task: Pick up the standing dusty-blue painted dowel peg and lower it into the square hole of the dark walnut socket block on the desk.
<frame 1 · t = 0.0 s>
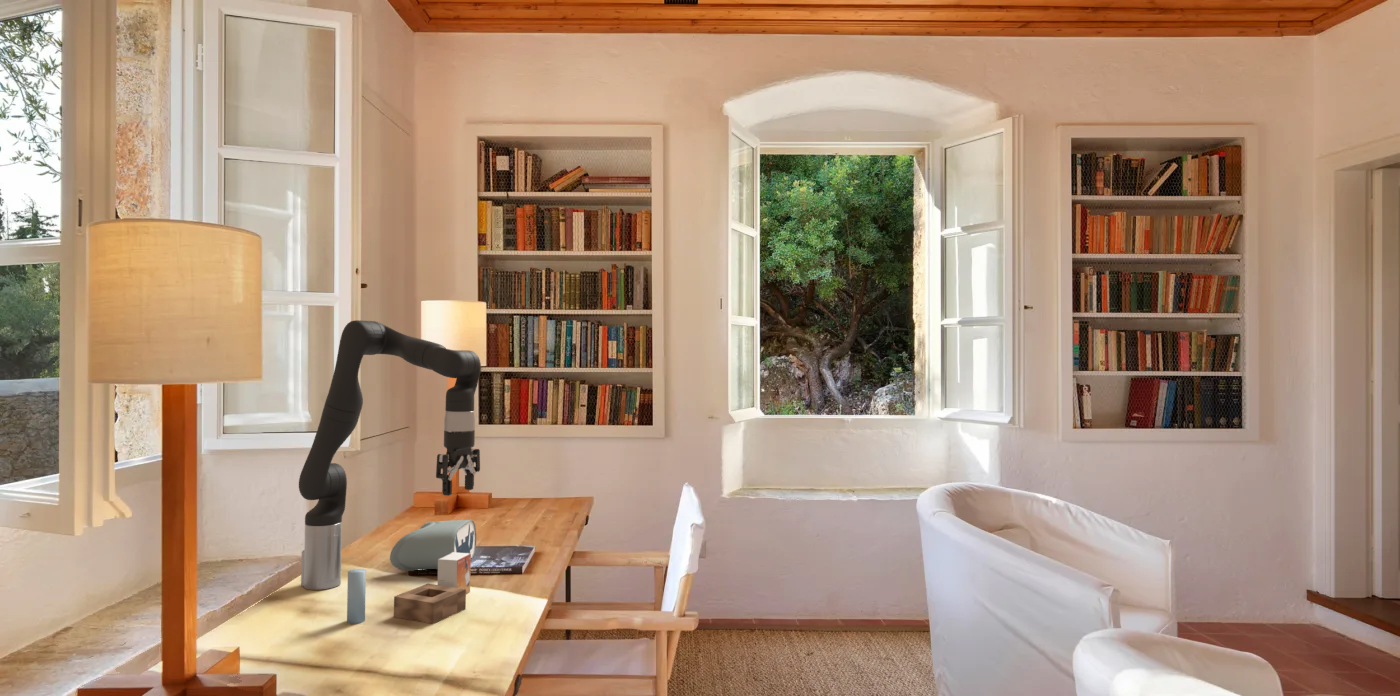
hand: (458, 492, 203), 29 cm above the table, fingers open, 8 cm apart
peg: (355, 621, 192), on the table
pencil case: (434, 566, 242), on the table
socket block: (430, 612, 199), on the table
small box: (453, 596, 213), on the table
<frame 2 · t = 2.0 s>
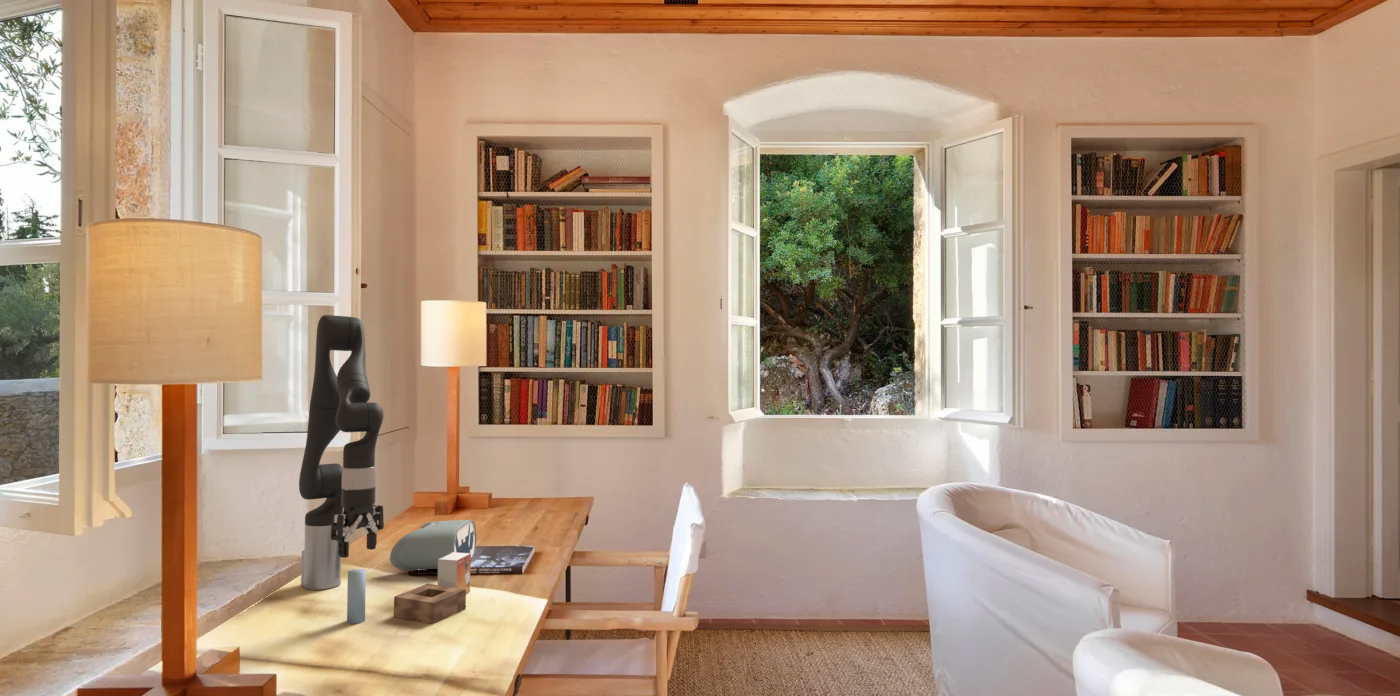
hand: (357, 553, 192), 16 cm above the table, fingers open, 8 cm apart
nothing on the table moved.
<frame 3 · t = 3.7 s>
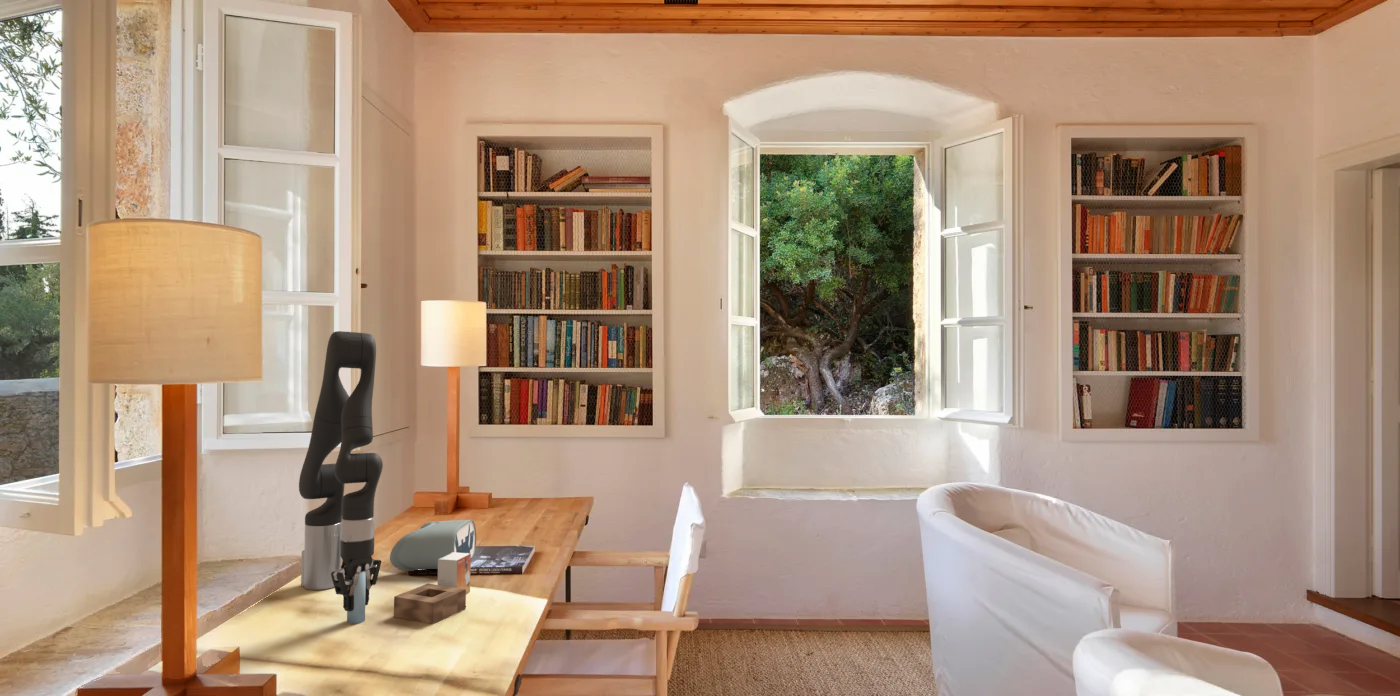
hand: (356, 607, 192), 3 cm above the table, fingers closed on peg, 4 cm apart
peg: (355, 621, 192), on the table, touching gripper
everything else where it was.
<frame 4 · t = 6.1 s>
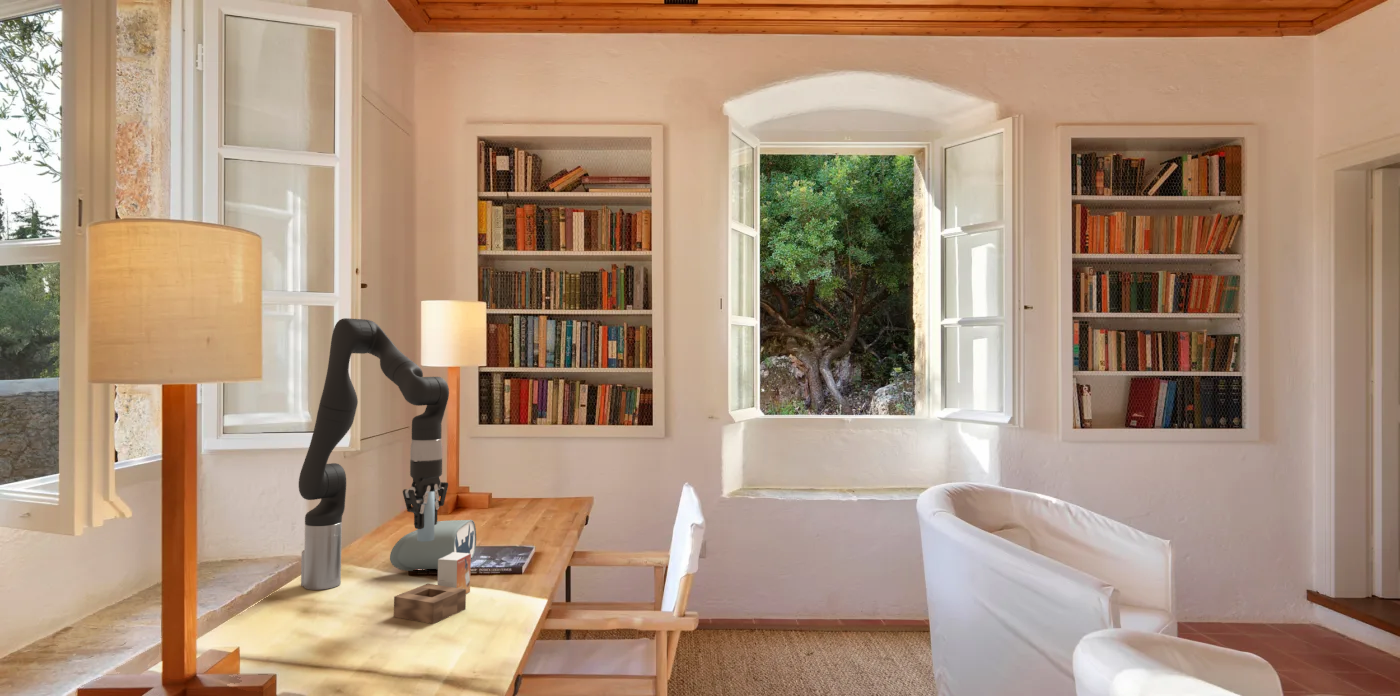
hand: (425, 526, 198), 22 cm above the table, fingers closed on peg, 4 cm apart
peg: (425, 539, 198), point 18 cm above the table, touching gripper
everything else where it was.
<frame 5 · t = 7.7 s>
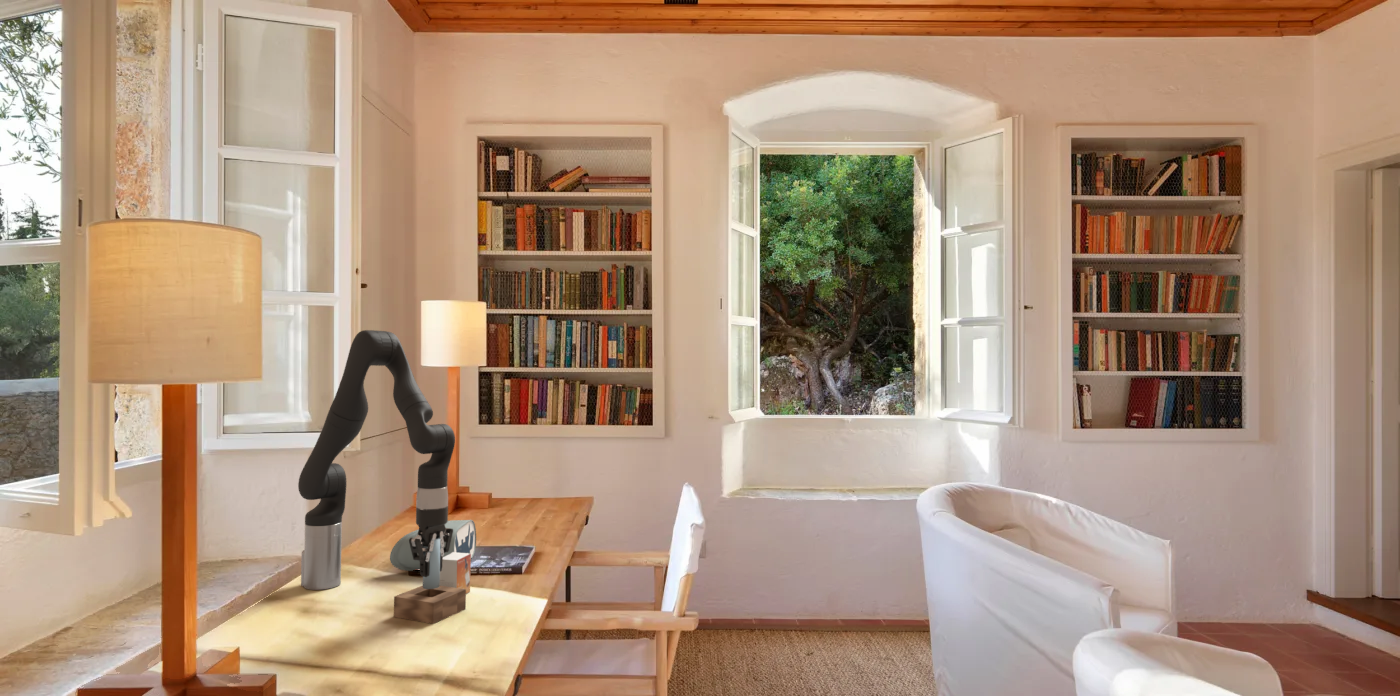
hand: (431, 573, 199), 10 cm above the table, fingers closed on peg, 4 cm apart
peg: (431, 586, 199), point 7 cm above the table, touching gripper
everything else where it was.
when the fingers open (6 cm above the table, at t = 8.7 s): peg drops 3 cm, resting in socket block.
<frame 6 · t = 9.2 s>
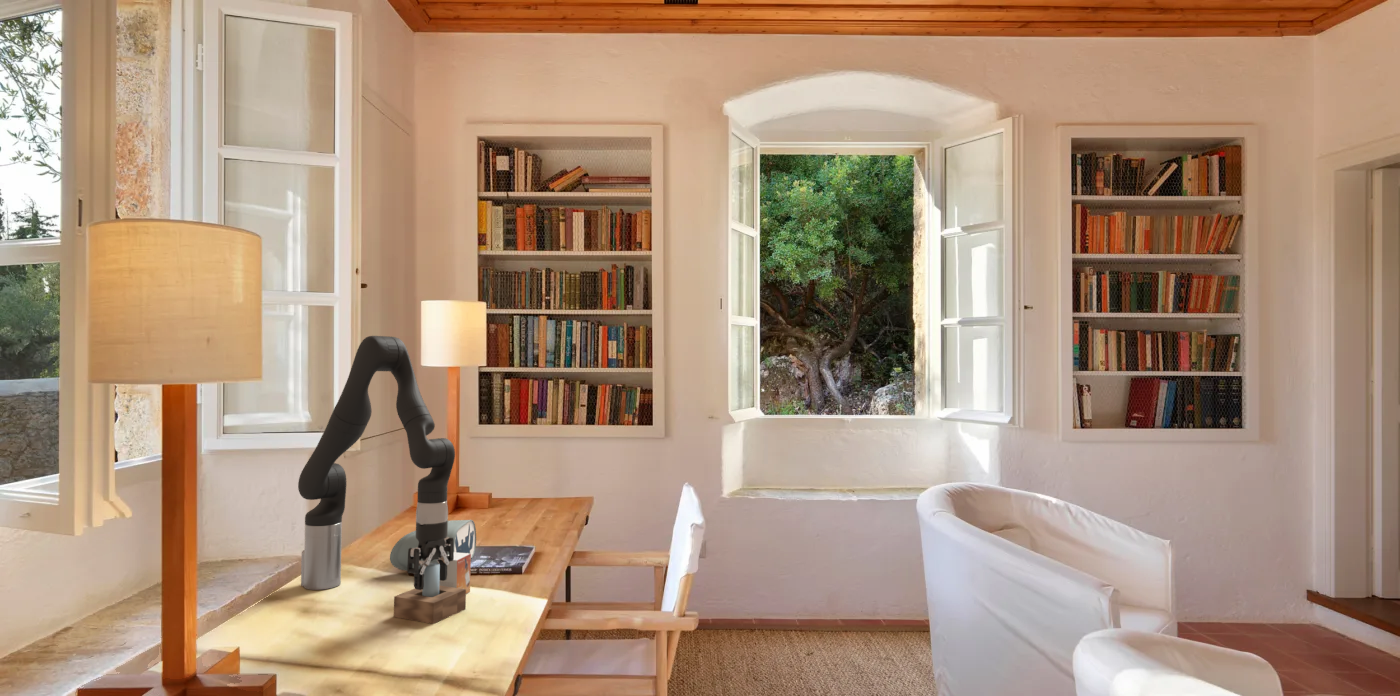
hand: (430, 584, 199), 7 cm above the table, fingers open, 8 cm apart
peg: (430, 612, 199), resting in socket block
everything else where it was.
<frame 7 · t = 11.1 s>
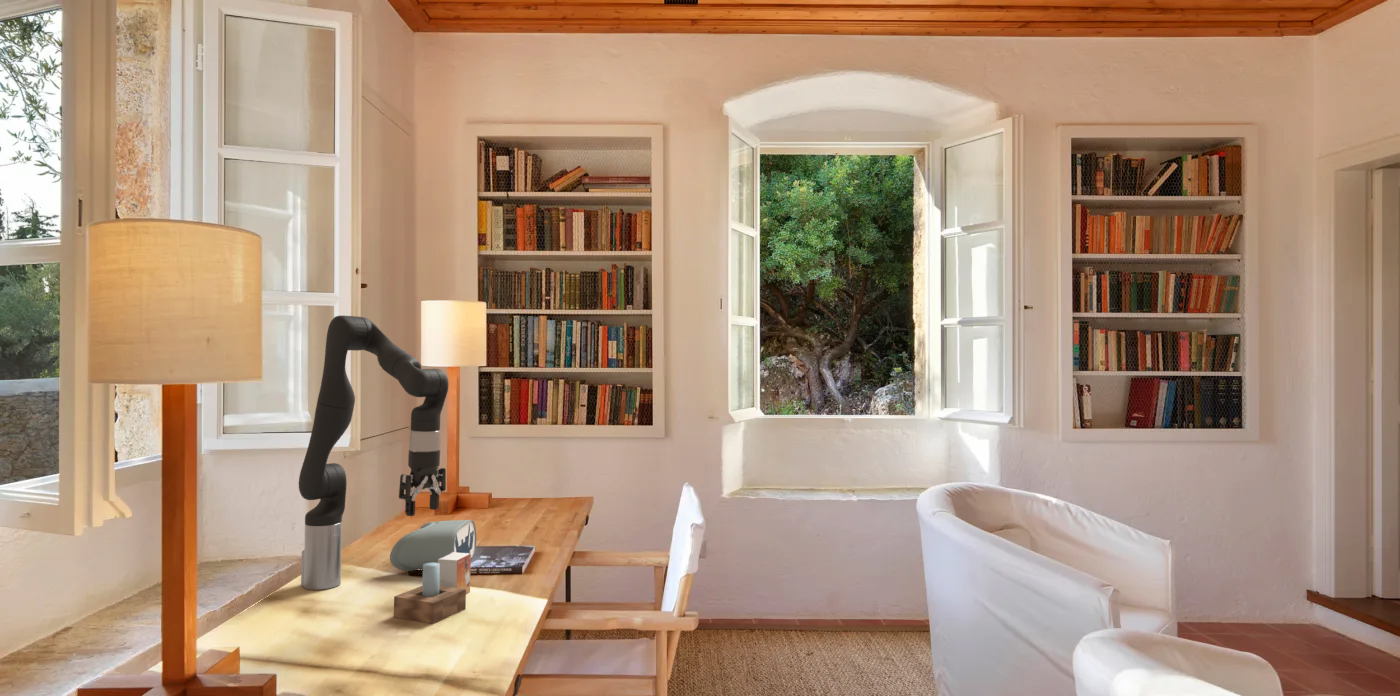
hand: (422, 512, 201), 24 cm above the table, fingers open, 8 cm apart
nothing on the table moved.
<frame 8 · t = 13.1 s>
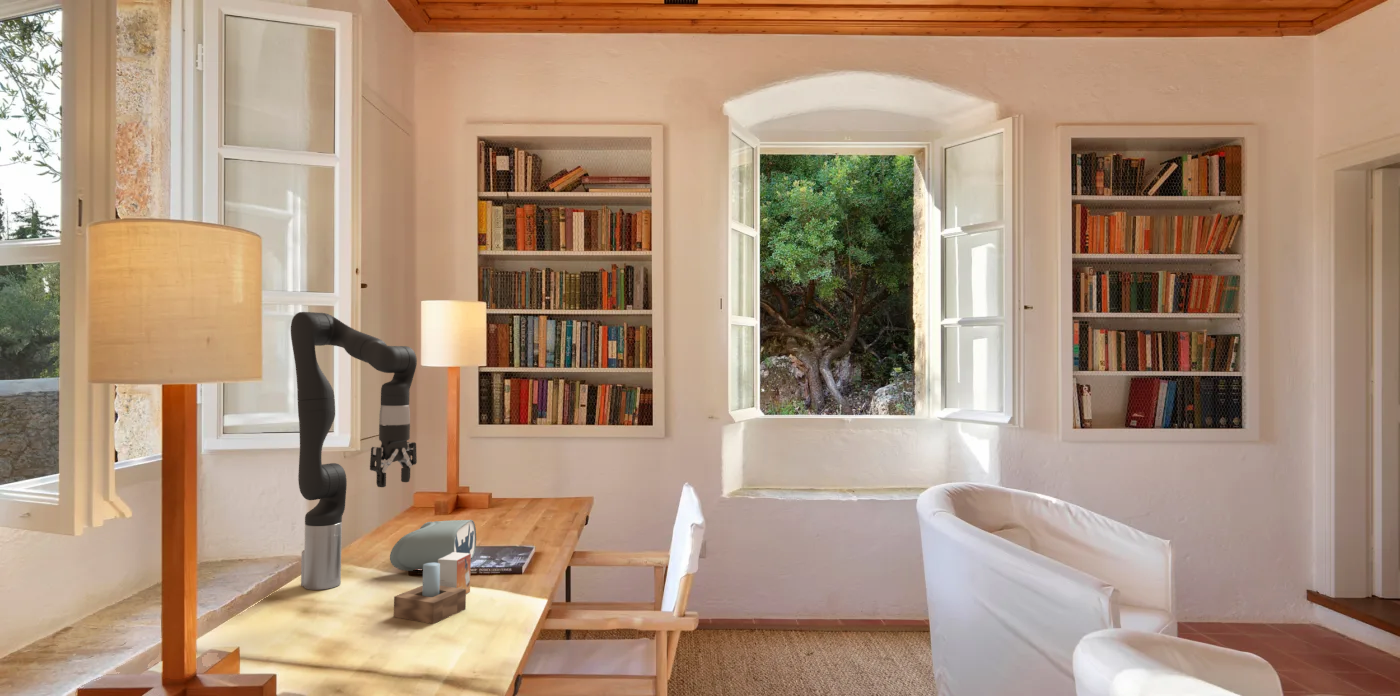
hand: (393, 484, 208), 30 cm above the table, fingers open, 8 cm apart
nothing on the table moved.
at the end: peg 0.1 cm off-centre on the socket block, point 0.0 cm above the socket block's base; peg tilted 0°; the gripper is holding nothing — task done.
